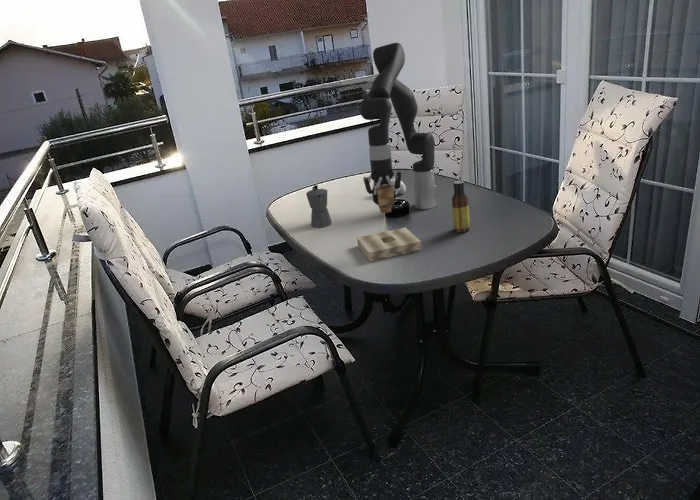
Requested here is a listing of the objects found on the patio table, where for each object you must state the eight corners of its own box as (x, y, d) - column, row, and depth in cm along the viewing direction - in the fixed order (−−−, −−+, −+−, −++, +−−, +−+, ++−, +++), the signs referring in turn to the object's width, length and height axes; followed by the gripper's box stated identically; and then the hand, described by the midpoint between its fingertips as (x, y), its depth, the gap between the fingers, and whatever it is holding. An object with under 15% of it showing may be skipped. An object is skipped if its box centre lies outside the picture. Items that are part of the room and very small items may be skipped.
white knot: (411, 192, 249) (409, 174, 246) (400, 199, 240) (398, 181, 237) (391, 190, 255) (389, 173, 252) (379, 198, 246) (378, 180, 243)
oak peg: (390, 207, 187) (388, 183, 183) (395, 212, 182) (393, 187, 178) (376, 210, 186) (373, 186, 182) (380, 215, 181) (378, 190, 177)
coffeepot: (334, 226, 217) (329, 187, 210) (313, 231, 215) (307, 191, 208) (328, 216, 231) (322, 178, 224) (308, 219, 229) (302, 182, 222)
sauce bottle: (470, 227, 199) (469, 179, 191) (468, 233, 193) (467, 184, 186) (454, 227, 201) (452, 179, 193) (451, 233, 196) (450, 184, 188)
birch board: (406, 235, 199) (405, 227, 197) (421, 250, 184) (420, 241, 183) (358, 245, 195) (357, 237, 193) (369, 261, 180) (368, 252, 179)
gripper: (396, 151, 180) (399, 195, 187) (358, 157, 178) (363, 202, 184) (403, 155, 173) (406, 201, 180) (363, 162, 171) (368, 208, 178)
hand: (384, 201), depth 182 cm, fingers closed on oak peg, 5 cm apart
